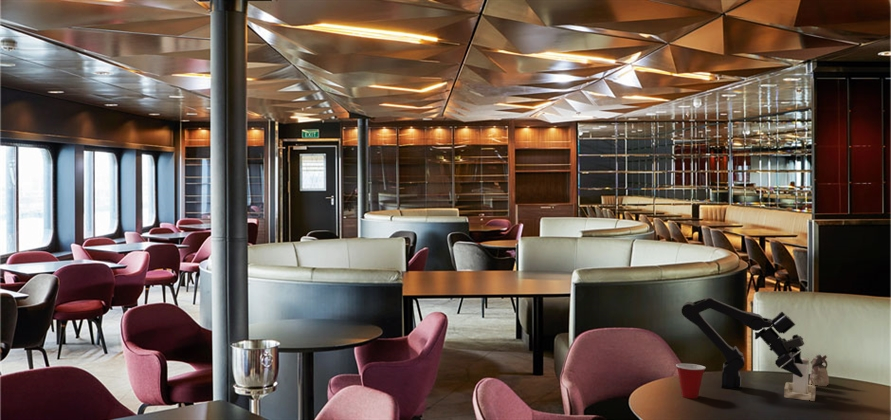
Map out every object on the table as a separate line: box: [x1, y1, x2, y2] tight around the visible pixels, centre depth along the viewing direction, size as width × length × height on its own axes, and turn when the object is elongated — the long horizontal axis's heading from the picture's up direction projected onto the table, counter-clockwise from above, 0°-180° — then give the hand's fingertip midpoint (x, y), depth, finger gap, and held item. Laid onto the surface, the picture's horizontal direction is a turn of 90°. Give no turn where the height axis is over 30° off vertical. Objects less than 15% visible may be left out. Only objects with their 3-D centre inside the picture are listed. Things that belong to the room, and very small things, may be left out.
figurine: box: [808, 353, 830, 387], centre depth 308 cm, size 7×7×12 cm
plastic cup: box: [675, 363, 706, 399], centre depth 289 cm, size 11×11×12 cm
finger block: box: [792, 363, 809, 394], centre depth 291 cm, size 4×5×11 cm
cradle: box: [783, 357, 817, 402], centre depth 296 cm, size 10×22×11 cm, turn 153°
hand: (804, 374), depth 290 cm, fingers open, 9 cm apart
